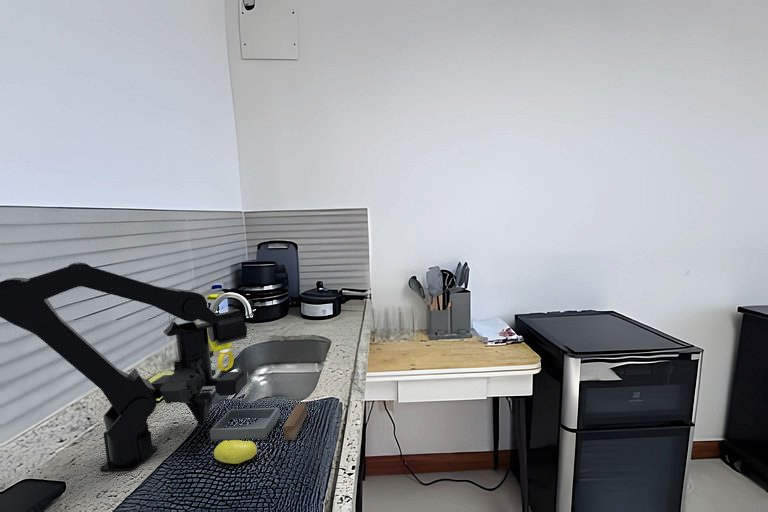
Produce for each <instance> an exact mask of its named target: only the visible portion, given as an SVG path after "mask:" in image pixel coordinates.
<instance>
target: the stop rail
mask: <svg viewBox="0 0 768 512" xmlns="http://www.w3.org/2000/svg"><path fill="white" fill-rule="evenodd" d="M307 406H308V405H307V403H306V402H305V403H301V402H300V403H296V405H295V406H294V409H293V410H292V411H291V413H290V415H289V416H288V418H287V420H285V423H284V424H283V426H282V427H283V439H284V441H285V440H295V441H296V439H297V438H296V436H297V434H298V432H299V431H300V432H301V430H300V428H301V427H302V428H303V426H302V424H303V422H304V420H305V418H306V416H307V415H308V407H307ZM304 423H305V422H304ZM303 425H304V424H303ZM302 428H301V429H302ZM300 432H299V433H300ZM298 435H299V434H298ZM297 437H298V436H297ZM295 438H296V439H295Z"/></svg>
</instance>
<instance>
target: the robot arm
mask: <svg viewBox="0 0 768 512" xmlns="http://www.w3.org/2000/svg"><path fill="white" fill-rule="evenodd" d="M77 287H83V288H87V289H91V290H94V291H98V292H101V293H105V294H109V295H113V296H116V297H120V298H124V299H127V300H132V301H136V302H139V303H142V304H146V305H150V306H152V307H154V308H156V309H159V310H161V311H164V312H165V313H168V314H169V315H172V316H175V317H177V318H179V319H181V320H183V321H186V322H183V323H176V322H175V321H171V322H170V323H169V325H168V326H167V327H166V328H165V329H164V330H163V333H164V334H165V335H166V336H167V337H172V336H175V337H176V338H175V339H176V348H177V353H178V354H177V355H178V359H177V360H176V361H174V371H173V373H172V374H164V375H161V376H160V377H158V378H157V379H155V380H153V381H152V382H150V380H148V379H146V378H144V377H142V376H141V375H140V372H138V370H137V369H136V368H134V369H133V370H132V371H130V373H127V372H124V371H122V370H120V369H119V368H118V367H117V366H115V365H114V364H113V362H111V360H109V359H108V358H107V357H106V356H104V355H103V354H102V353H101V352H100V351H99V350H98V349H96V348H95V346H93V345H92V344H90V343H89V342H88V340H86V339H85V338H84V337H83V336H82V335H81V334H80V333H79V332H77V331H76V330H75V329H74V328H73V327H72V326H71V325H69V324H68V323H67V322H66V321H65V320H64V319H63V318H62V317H60V315H59V314H58V312H57V311H56V309H55V308H54V306H53V305H52V303H51V302H50V301H49V300H48V299H49V298H52V297H54V296H58V295H60V294H62V293H65V292H67V291H70V290H73V289H75V288H77ZM0 318H1V319H3V320H5V321H7V322H8V323H10V324H12V325H13V326H16V327H18V328H20V329H23V330H25V331H27V332H30V333H32V334H33V335H35V336H37V337H38V338H39V339H40V340H42V341H43V343H44V344H46V345H48V346H49V348H50V349H52V350H53V351H55V352H56V353H57V355H59V356H60V357H62V358H63V359H64V360H65V361H66V362H67V363H69V364H70V365H71V366H72V367H74V368H75V369H76V370H77V371H78V372H80V373H81V374H82V375H83V376H84V377H85V378H86V379H88V380H89V381H90V382H92V383H93V384H94V385H95V386H96V387H97V388H99V389H100V390H101V391H102V393H103V394H104V395H105V397H106V399H107V400H108V402H109V404H110V405H111V406H110V408H109V409H108V410H107V411H106V412H105V414H104V415H103V421H104V426H105V431H104V432H103V440H104V441H103V442H104V447H105V455H106V462H105V463H104V464H103V465H102V466H100V467H99V470H100V471H101V472H102V471H103V472H107V471H108V472H111V471H112V472H113V471H114V472H115V471H133V470H136V469H137V467H139V466H140V465H141V464H142V463H144V461H145V460H146V459H148V458H149V457H150V456H151V455H152V454H153V453H154V452H156V451H157V450H158V445H153V441H152V440H153V439H152V434H151V433H152V431H150V430H149V423H148V422H147V421H148V419H149V417H150V416H151V415H152V414H153V413H154V412H155V409H156V408H157V402H158V399H159V400H160V399H161V398H162V399H163V401H164V404H172V403H180V404H185V406H187V407H188V409H189V410H190V412H191V414H192V415H193V417H194V418H195V421H196V422H197V424H198V425H199V426H204V425H205V424H206V423H207V419H208V416H209V413H210V409H211V407H212V404H213V401H214V399H215V397H216V394H218V396H222V397H223V396H233V395H237V394H238V393H239V392H240V391H241V390H242V389H243V388H244V387H245V386H246V385H247V384H248V375H247V374H246V373H245V372H244V371H243V370H242V371H241V370H239V371H226V373H225V374H223V375H222V376H221V377H214V376H216V373H217V372H216V369H212V361H211V359H212V357H214V350H210V343H209V342H211V343H214V342H215V344H216V346H222V345H227V344H230V343H233V342H237V341H242V340H246V338H247V335H248V327H247V324H246V322H245V319H244V317H243V315H242V311H241V309H238V308H236V309H232V310H229V311H226V312H219V313H216V312H215V311H212V310H211V309H210V307H208V302H207V300H206V297H205V296H204V295H203V294H200V293H198V292H195V291H192V290H187V289H180V288H173V287H166V286H165V287H163V286H158V285H153V284H150V283H147V282H143V281H140V280H137V279H134V278H130V277H127V276H123V275H119V274H117V273H114V272H110V271H107V270H104V269H101V268H97V267H93V266H91V265H89V264H87V263H85V262H81V261H80V262H79V261H78V262H73V263H70V264H68V266H67V265H66V266H64V267H61V268H58V269H55V270H52V271H49V272H46V273H42V274H39V275H37V276H33V277H31V278H24V277H10V278H6V279H4V280H2V281H0ZM197 320H198V321H202V322H204V323H198V324H196V323H195V321H197ZM209 340H210V341H209Z"/></svg>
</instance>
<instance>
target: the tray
mask: <svg viewBox="0 0 768 512" xmlns="http://www.w3.org/2000/svg"><path fill="white" fill-rule="evenodd" d="M280 409H281V408H280V407H261V408H259V407H256V408H254V407H253V408H234V409H233V408H231V409H229V410H228V411H227V412H225V414H223V416H222V417H220V419H219V420H218V421H217V422H215V424H214V425H213V426H212V427H211V428H210V429H209V430H208V431H209V439H210V442H211V441H216V440H217V441H222V440H223V441H224V440H240V439H241V440H242V439H243V440H245V439H247V440H248V439H249V440H250V439H257V440H258V439H259V440H266V439H268V438H269V437H268V435H269V434H270V432H271V431H272V429H273V428H274V426H275V424H276V422H277V421H278V419H279V417H280V418H281V410H280ZM231 418H259V419H258V420H257V421H256V422H251V424H248V425H247V424H242V425H240V426H239V424H236V425H235V426H234V425H233V426H230V427H228V426H227V427H226V428H224V427H225V426H226V425H227V423H228V422H229V421H230V420H231ZM275 427H276V426H275ZM274 429H275V428H274ZM274 429H273V430H274ZM272 432H273V431H272ZM272 432H271V433H272ZM270 435H271V434H270ZM270 435H269V436H270ZM267 437H268V438H267ZM266 441H267V440H266Z"/></svg>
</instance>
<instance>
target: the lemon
mask: <svg viewBox="0 0 768 512" xmlns="http://www.w3.org/2000/svg"><path fill="white" fill-rule="evenodd" d="M257 453H258V447H257V445H256V444H255V442H254V441H242V440H229V441H228V440H225V441H222V442H219V444H218V445H217V446H216V447H215V448H214V450H213V457H214V458H215V459H216V460H217V461H219V462H221V463H225V464H234V465H236V464H241V463H243V462H245V461H248V460H251V459H253V457H255V456H256V454H257Z"/></svg>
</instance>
